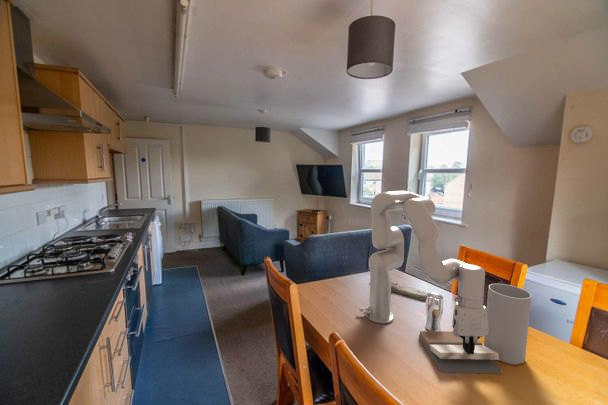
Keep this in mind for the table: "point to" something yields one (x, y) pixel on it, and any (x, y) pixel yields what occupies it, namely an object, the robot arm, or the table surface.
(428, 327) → the beer glass
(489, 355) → the loose plank
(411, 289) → the long grey stone
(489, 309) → the cylinder vase
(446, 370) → the grey flat piece
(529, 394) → the table surface
